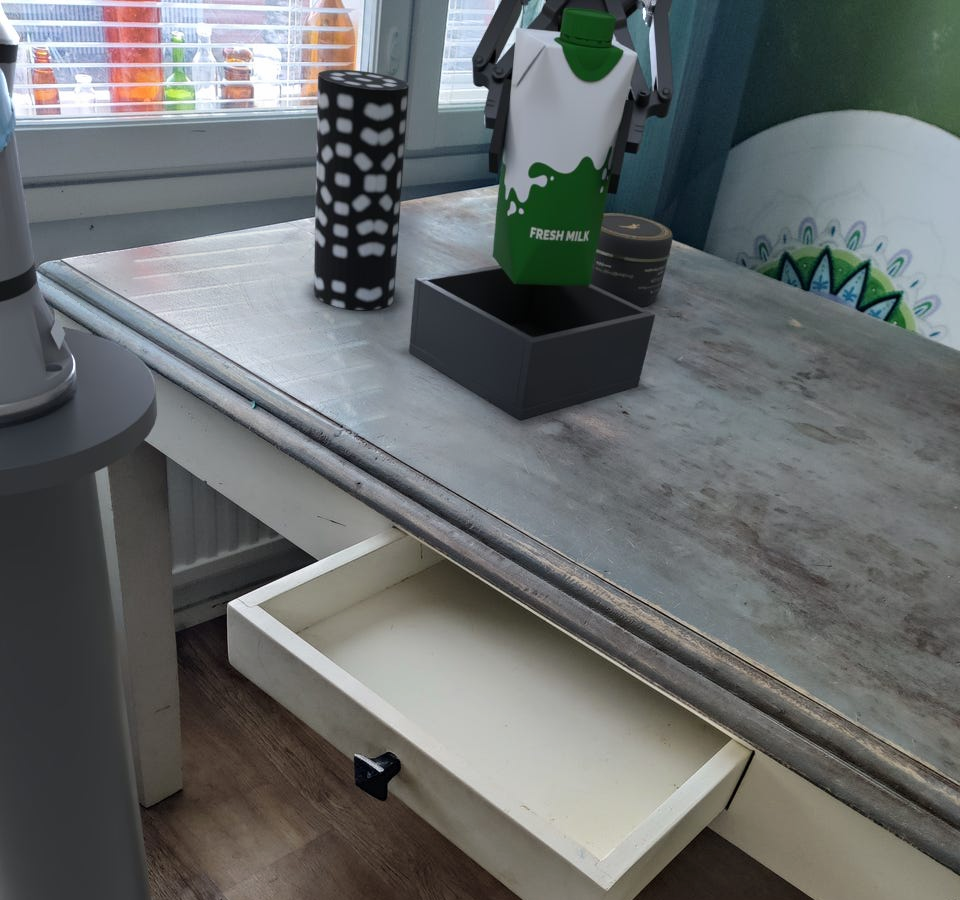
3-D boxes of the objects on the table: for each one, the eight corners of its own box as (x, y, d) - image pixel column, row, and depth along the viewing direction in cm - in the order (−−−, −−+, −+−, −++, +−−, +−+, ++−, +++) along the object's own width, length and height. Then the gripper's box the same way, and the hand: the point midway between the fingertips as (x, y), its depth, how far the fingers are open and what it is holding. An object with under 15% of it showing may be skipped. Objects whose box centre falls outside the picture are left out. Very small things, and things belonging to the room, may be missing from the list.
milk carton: (507, 288, 83) (544, 11, 71) (479, 252, 90) (509, -7, 78) (603, 291, 86) (655, 23, 73) (569, 255, 92) (612, 5, 80)
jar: (670, 295, 116) (686, 227, 111) (641, 317, 109) (657, 246, 104) (592, 272, 119) (605, 206, 114) (559, 293, 112) (571, 223, 107)
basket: (408, 352, 93) (414, 278, 89) (527, 327, 102) (538, 258, 98) (519, 420, 85) (532, 342, 80) (638, 386, 94) (655, 314, 89)
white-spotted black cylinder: (405, 292, 106) (421, 82, 93) (375, 316, 99) (388, 94, 87) (334, 275, 107) (340, 66, 95) (300, 298, 101) (302, 76, 88)
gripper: (723, -17, 86) (678, 222, 83) (476, -57, 87) (424, 177, 84) (744, -91, 78) (696, 169, 76) (474, -134, 79) (417, 121, 77)
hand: (553, 173), depth 80 cm, fingers closed on milk carton, 9 cm apart
